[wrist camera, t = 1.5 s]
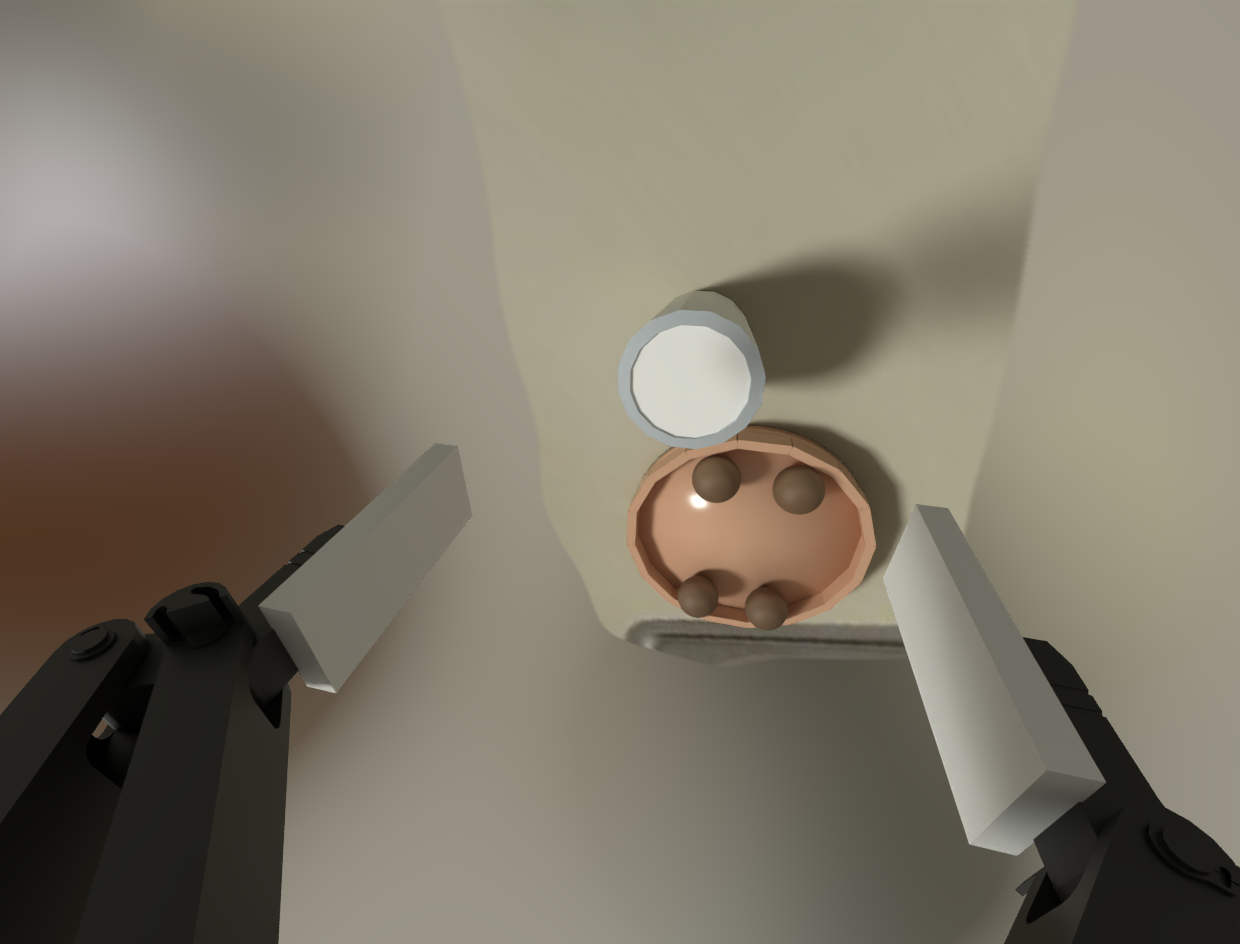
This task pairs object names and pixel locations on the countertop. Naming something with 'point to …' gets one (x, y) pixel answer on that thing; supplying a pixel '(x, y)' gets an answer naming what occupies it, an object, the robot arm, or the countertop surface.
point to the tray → (752, 528)
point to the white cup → (693, 372)
